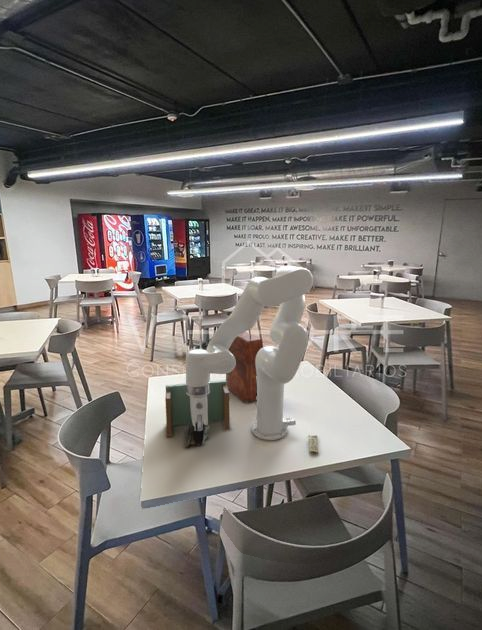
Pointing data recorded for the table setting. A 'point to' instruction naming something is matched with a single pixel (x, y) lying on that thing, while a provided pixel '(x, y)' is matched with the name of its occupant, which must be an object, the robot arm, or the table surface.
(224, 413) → the cubby shelf
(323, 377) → the table surface
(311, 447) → the snack bar
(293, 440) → the table surface
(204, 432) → the chocolate cake
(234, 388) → the handbag
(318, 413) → the table surface
